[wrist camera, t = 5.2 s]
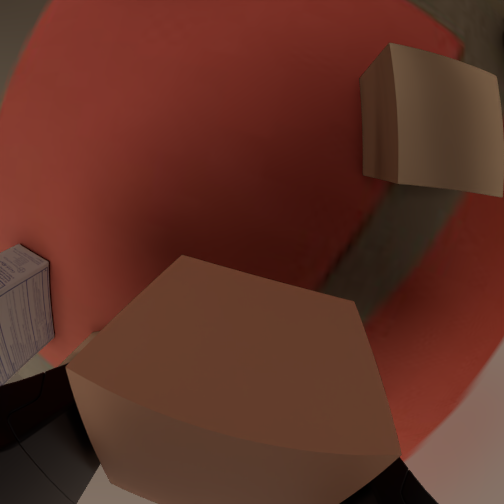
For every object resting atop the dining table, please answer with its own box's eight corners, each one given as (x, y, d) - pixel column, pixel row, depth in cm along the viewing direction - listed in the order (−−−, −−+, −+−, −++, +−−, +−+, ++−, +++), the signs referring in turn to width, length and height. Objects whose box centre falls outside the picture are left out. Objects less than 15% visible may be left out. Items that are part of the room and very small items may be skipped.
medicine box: (20, 241, 17) (-58, 279, 9) (52, 261, 17) (-33, 311, 9) (26, 315, 20) (-32, 361, 12) (57, 337, 20) (-3, 393, 12)
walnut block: (443, 94, 10) (496, 75, 6) (446, 183, 12) (502, 197, 7) (358, 79, 11) (389, 42, 6) (362, 175, 13) (397, 183, 8)
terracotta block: (354, 301, 8) (401, 454, 3) (298, 412, 9) (289, 531, 4) (181, 254, 8) (65, 366, 3) (168, 376, 9) (110, 482, 5)
